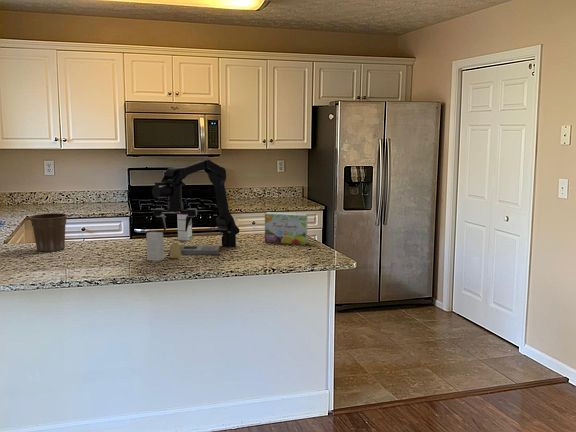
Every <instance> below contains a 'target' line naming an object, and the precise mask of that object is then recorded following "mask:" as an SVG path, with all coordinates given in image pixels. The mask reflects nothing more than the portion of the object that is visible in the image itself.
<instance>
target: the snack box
mask: <svg viewBox="0 0 576 432" xmlns="http://www.w3.org/2000/svg"><path fill="white" fill-rule="evenodd" d="M264 242H265V243H271V242H273V243H274V244H275V243H276V244H291V245H303V246H304V245H306V244H307V243H308V213H295V212H294V213H290V212H277V211H276V212H273V211H271V212H270V211H268V212H266V213H264Z"/></svg>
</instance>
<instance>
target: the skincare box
mask: <svg viewBox="0 0 576 432" xmlns="http://www.w3.org/2000/svg"><path fill="white" fill-rule="evenodd" d="M164 247H165V245H164V232H162V231H161V232H159V231H150V232H147V233H146V254H147V256H146V258H147V259H146V260H147V261H155V262H160V261H163V260H165V251H164Z"/></svg>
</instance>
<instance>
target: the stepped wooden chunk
mask: <svg viewBox="0 0 576 432" xmlns="http://www.w3.org/2000/svg"><path fill="white" fill-rule="evenodd" d="M180 241H181V240H174V241H172V242H171V243H170V244H169V250H170V255H169V256H170V259H181V258H182V257H183V255H182V245H183V243H182V242H180Z"/></svg>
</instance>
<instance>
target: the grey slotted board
mask: <svg viewBox="0 0 576 432" xmlns="http://www.w3.org/2000/svg"><path fill="white" fill-rule="evenodd" d="M220 248H221V247H220V244H219V245H216V244H215V245H210V244H209V245H208V244H207V245H203V244H202V245H201V244H200V245H197V244H196V245H193V244H192V245H191V244H190V245H187V244H186V245H183V244H182V256H183V255H190V256H191V255H193V256H194V255H199V256H200V255H201V256H202V255H203V256H207V255H214V256H216V255H217V256H218V254H219V253H220V250H221V249H220ZM168 255H169V256H170V249H169V250H168Z"/></svg>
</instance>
